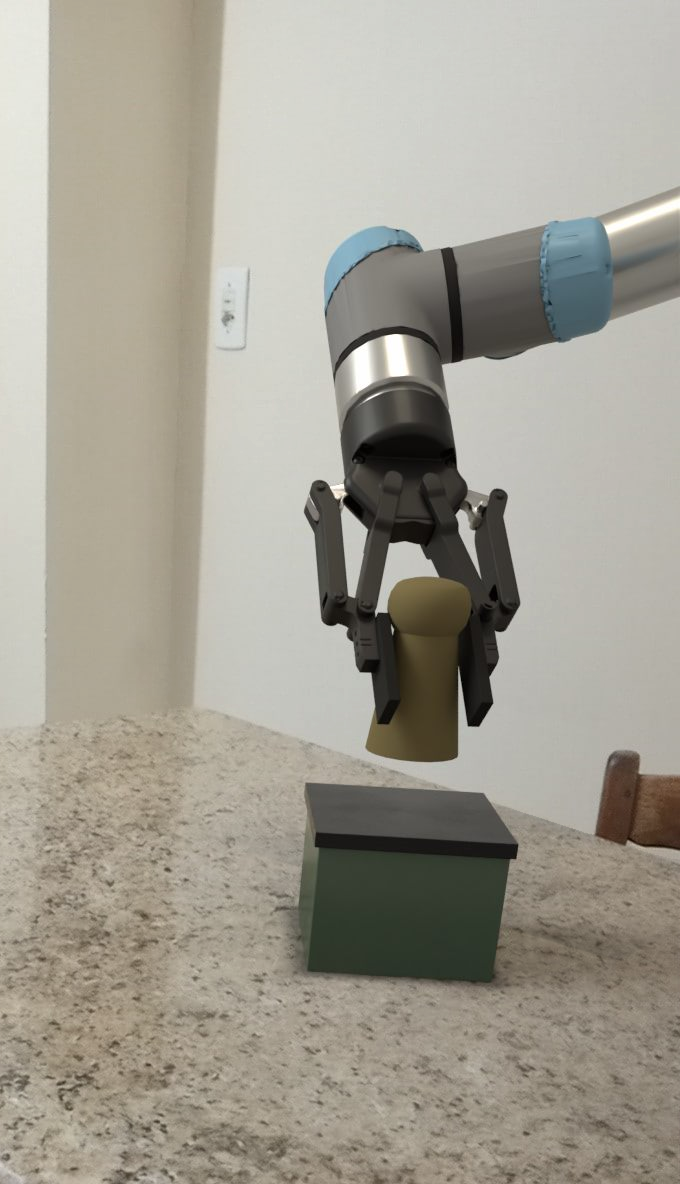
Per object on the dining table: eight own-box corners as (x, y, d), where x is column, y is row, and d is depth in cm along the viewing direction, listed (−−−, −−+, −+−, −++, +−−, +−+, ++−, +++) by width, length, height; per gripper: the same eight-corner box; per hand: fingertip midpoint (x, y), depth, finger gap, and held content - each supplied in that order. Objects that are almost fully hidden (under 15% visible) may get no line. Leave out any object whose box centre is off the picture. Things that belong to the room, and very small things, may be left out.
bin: (465, 918, 101) (483, 792, 97) (497, 985, 89) (519, 844, 85) (293, 908, 101) (305, 782, 98) (302, 972, 89) (315, 832, 86)
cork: (426, 767, 86) (449, 586, 82) (347, 748, 90) (365, 575, 86) (475, 753, 90) (499, 581, 86) (397, 736, 94) (416, 570, 90)
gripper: (503, 470, 99) (552, 749, 90) (254, 459, 97) (279, 742, 88) (542, 390, 92) (599, 683, 83) (274, 376, 90) (304, 674, 81)
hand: (434, 713), depth 85 cm, fingers closed on cork, 5 cm apart
